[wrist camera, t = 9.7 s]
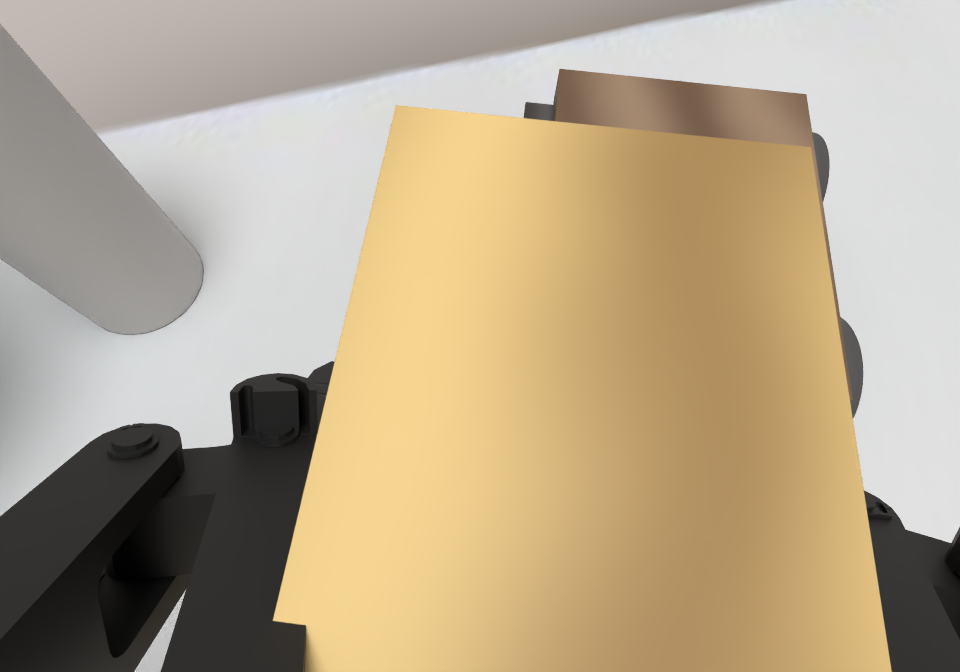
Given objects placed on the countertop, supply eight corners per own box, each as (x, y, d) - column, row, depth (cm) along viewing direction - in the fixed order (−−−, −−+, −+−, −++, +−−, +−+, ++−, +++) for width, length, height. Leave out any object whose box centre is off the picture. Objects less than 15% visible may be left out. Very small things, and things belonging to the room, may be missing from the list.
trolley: (488, 422, 29) (494, 374, 22) (518, 157, 35) (531, 56, 28) (789, 459, 28) (895, 422, 21) (761, 184, 35) (834, 87, 28)
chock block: (398, 636, 16) (236, 774, 5) (439, 372, 19) (398, 97, 8) (606, 664, 16) (923, 871, 5) (613, 392, 19) (809, 139, 8)
